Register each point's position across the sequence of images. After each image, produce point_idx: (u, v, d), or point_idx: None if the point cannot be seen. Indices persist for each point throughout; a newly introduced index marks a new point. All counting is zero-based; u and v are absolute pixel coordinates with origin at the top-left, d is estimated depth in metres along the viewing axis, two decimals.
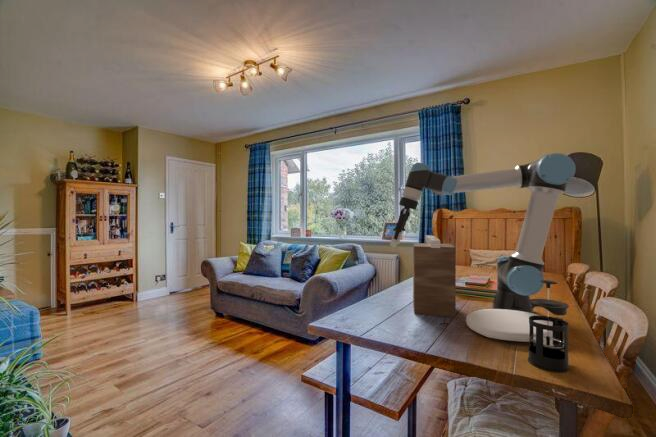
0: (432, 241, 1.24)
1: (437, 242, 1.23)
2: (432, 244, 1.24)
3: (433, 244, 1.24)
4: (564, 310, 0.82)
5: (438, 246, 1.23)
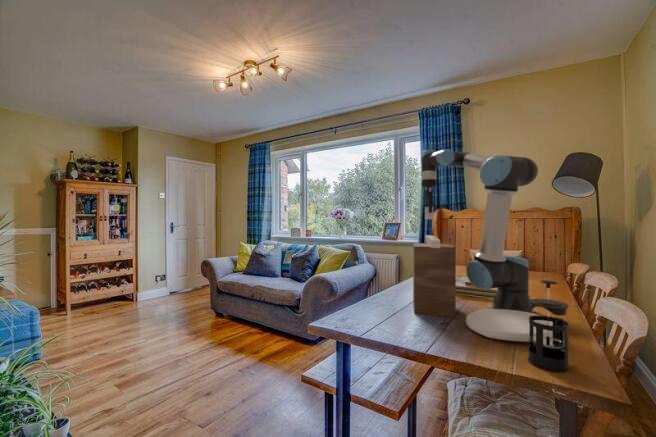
0: (432, 241, 1.24)
1: (437, 242, 1.23)
2: (432, 244, 1.24)
3: (433, 244, 1.24)
4: (564, 310, 0.82)
5: (438, 246, 1.23)
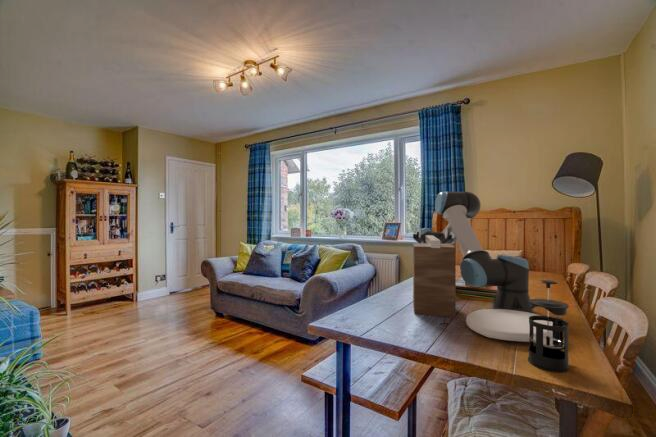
0: (432, 241, 1.24)
1: (437, 242, 1.23)
2: (432, 244, 1.24)
3: (433, 244, 1.24)
4: (564, 310, 0.82)
5: (438, 246, 1.23)
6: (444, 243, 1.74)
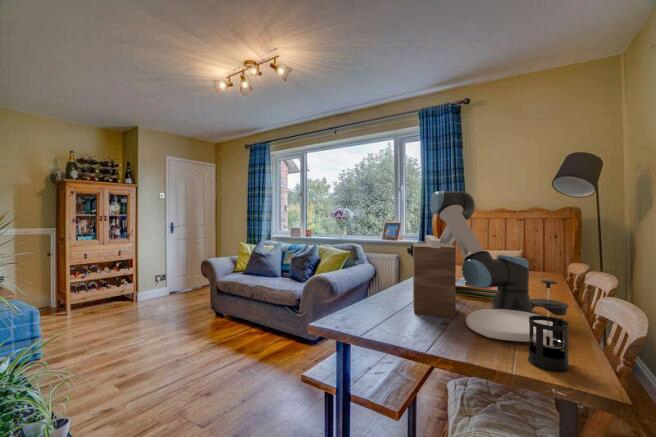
0: (432, 241, 1.24)
1: (437, 242, 1.23)
2: (432, 244, 1.24)
3: (433, 244, 1.24)
4: (564, 310, 0.82)
5: (438, 246, 1.23)
6: None
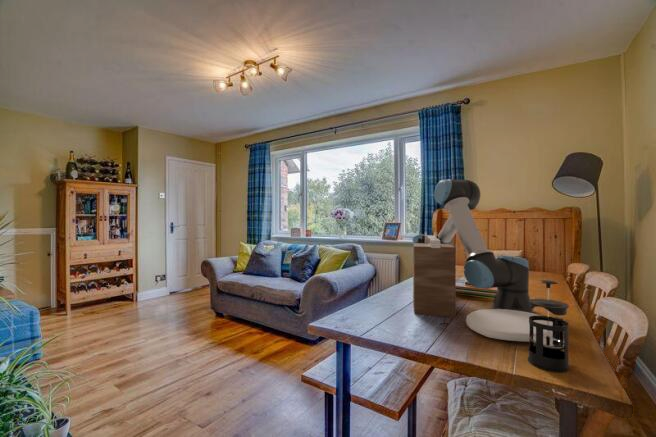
0: (432, 241, 1.24)
1: (437, 242, 1.23)
2: (432, 244, 1.24)
3: (433, 244, 1.24)
4: (564, 310, 0.82)
5: (438, 246, 1.23)
6: None
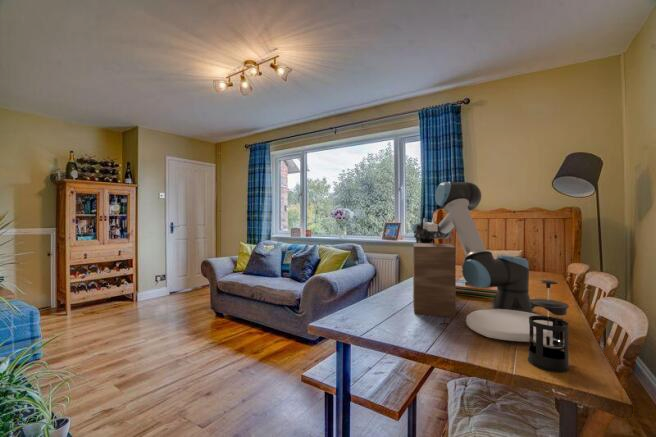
0: (430, 225, 1.33)
1: (434, 225, 1.32)
2: (430, 228, 1.33)
3: (431, 228, 1.33)
4: (564, 310, 0.82)
5: (435, 229, 1.32)
6: (438, 235, 1.64)
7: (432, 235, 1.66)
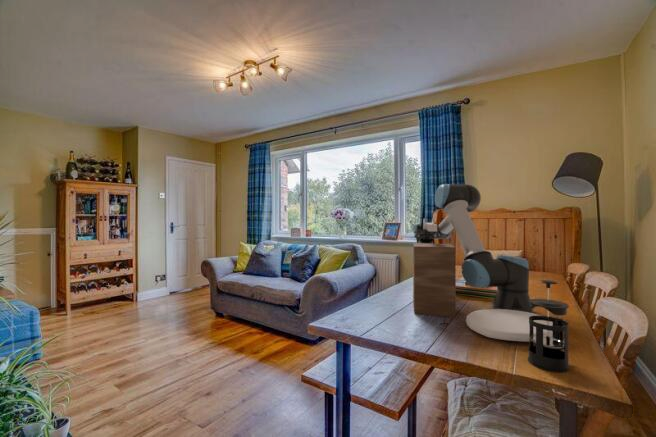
0: (429, 225, 1.35)
1: (434, 226, 1.35)
2: (429, 228, 1.35)
3: (430, 228, 1.35)
4: (564, 310, 0.82)
5: (435, 230, 1.35)
6: (438, 235, 1.67)
7: (432, 235, 1.69)
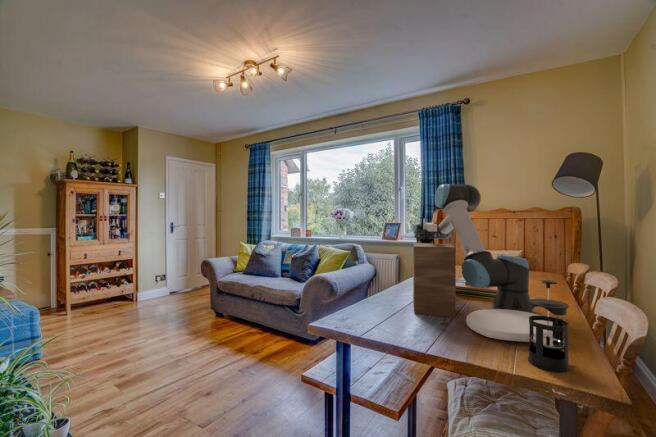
0: (429, 225, 1.35)
1: (434, 226, 1.35)
2: (429, 228, 1.35)
3: (430, 228, 1.35)
4: (564, 310, 0.82)
5: (435, 230, 1.35)
6: (438, 235, 1.67)
7: (432, 235, 1.69)
